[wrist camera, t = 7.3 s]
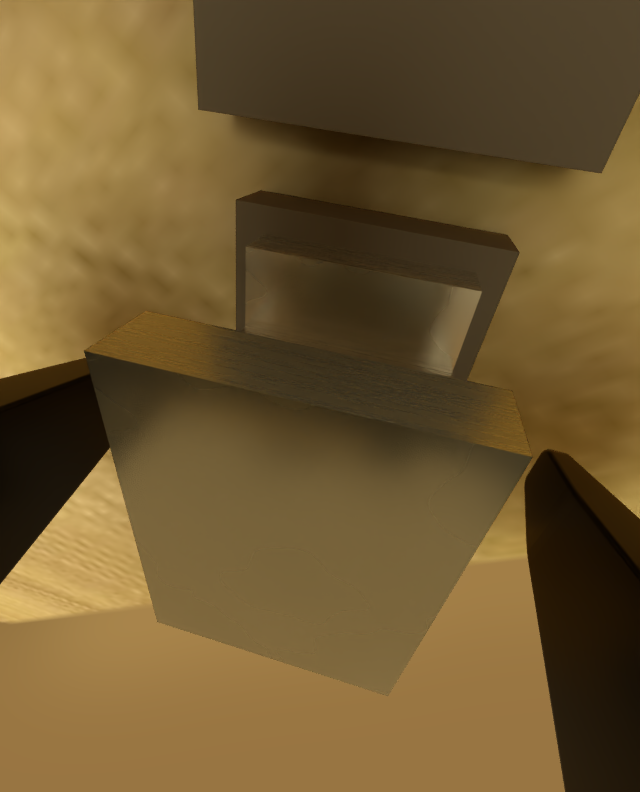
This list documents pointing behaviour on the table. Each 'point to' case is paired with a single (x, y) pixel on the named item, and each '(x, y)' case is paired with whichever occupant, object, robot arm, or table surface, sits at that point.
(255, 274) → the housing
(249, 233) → the stand
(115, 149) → the table surface
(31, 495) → the robot arm
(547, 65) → the stand
